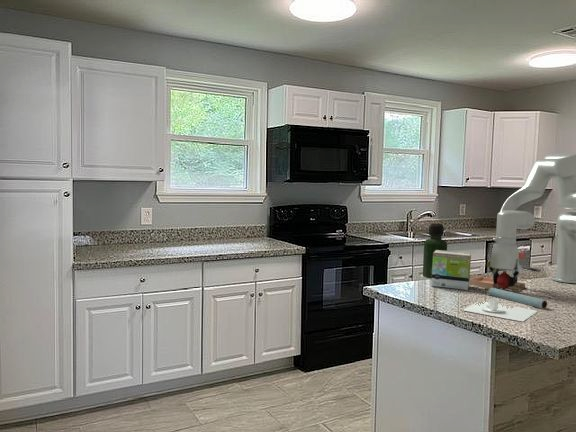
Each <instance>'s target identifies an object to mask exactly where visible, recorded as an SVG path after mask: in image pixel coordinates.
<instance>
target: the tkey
mask: <svg viewBox="0 0 576 432" xmlns="http://www.w3.org/2000/svg"><path fill="white" fill-rule="evenodd" d="M518 255H519V260H524V259H525V257H526V253H525V252H522V251H521V252H519V251H518ZM520 265H521V266H522V267H523V269H524V270H527V271H531V272H535V273H540V272H542V271H541V269H540V268H536V267H531V266H527V265H522V264H520ZM517 270H518V269H515V271H517ZM518 275H519V274H518ZM518 275H517V276H516V277H515V283H517V282H518V279H519V277H518Z"/></svg>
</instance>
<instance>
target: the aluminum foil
mask: <svg viewBox="0 0 576 432" xmlns="http://www.w3.org/2000/svg"><path fill="white" fill-rule="evenodd" d="M488 296H491V297H493V298H497V299H498V298H499V299H503V300H506V301H511V302H515V303H519V304H523V305H526V306H530V307H533V308H535V309H536V308H537V309H541V310H544V309H545V310H546V308H547V307H548V302H547V299H544V298H543V299H542V298H538V297H533V296H528V295H525V294H521V293H518V292H517V293H513V292H512V291H507V290H503V289H501V288H490V289H489V290H488Z"/></svg>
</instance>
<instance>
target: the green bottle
mask: <svg viewBox="0 0 576 432" xmlns="http://www.w3.org/2000/svg"><path fill="white" fill-rule="evenodd" d="M444 233H445V227H444V224H443V223H436V222H435V223H434V222H431V223H430V224H429V226H428V236H429V237H430V238H427V239H426V240H424V243H423V260H422V261H423V262H422V276H423V277H424V278H427V279H432V263H433V253H434V252H435V250H443V251H448V243H447V241H446V240H445V239H442V237H444Z"/></svg>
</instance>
